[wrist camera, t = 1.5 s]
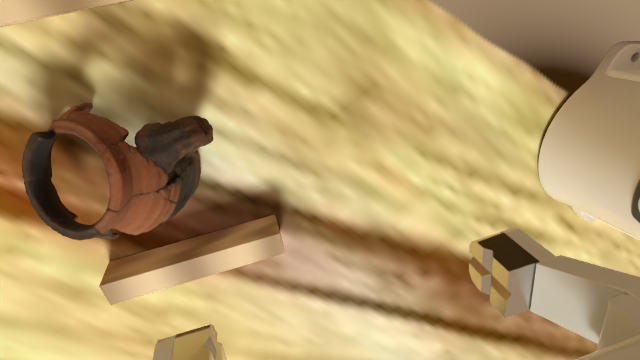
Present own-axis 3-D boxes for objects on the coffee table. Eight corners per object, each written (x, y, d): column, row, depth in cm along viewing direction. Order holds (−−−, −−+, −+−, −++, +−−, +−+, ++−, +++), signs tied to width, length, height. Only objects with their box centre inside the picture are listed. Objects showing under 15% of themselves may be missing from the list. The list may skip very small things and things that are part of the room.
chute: (198, -52, 23) (196, -57, 21) (280, 232, 34) (285, 252, 31) (-46, -5, 22) (-82, -5, 19) (119, 279, 32) (111, 305, 29)
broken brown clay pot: (153, 234, 32) (67, 279, 24) (90, 137, 31) (-20, 151, 23) (264, 162, 28) (204, 188, 20) (194, 50, 27) (105, 32, 19)
